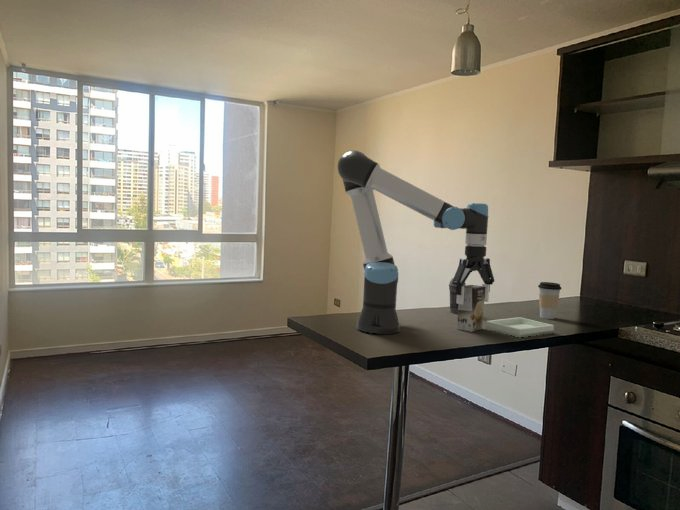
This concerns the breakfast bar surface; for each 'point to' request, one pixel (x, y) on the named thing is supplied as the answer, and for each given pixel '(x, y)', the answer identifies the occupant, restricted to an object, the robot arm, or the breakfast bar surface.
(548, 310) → the coffee cup
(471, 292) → the coffee box
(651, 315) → the breakfast bar surface
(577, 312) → the breakfast bar surface
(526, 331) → the sage tray
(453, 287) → the beverage cup
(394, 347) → the breakfast bar surface
